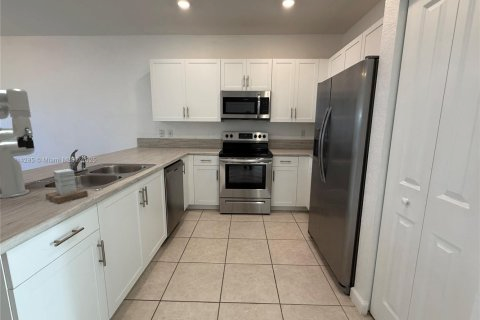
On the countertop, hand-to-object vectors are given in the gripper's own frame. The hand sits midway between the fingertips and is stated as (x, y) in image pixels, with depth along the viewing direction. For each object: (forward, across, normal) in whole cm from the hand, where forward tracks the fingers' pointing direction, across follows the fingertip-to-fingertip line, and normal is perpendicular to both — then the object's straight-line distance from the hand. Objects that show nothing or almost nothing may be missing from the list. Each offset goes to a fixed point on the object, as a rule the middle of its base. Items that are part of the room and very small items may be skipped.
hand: (26, 147), depth 114 cm
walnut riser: (+28, +12, +10) cm, 32 cm away
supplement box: (+26, +12, +10) cm, 30 cm away
